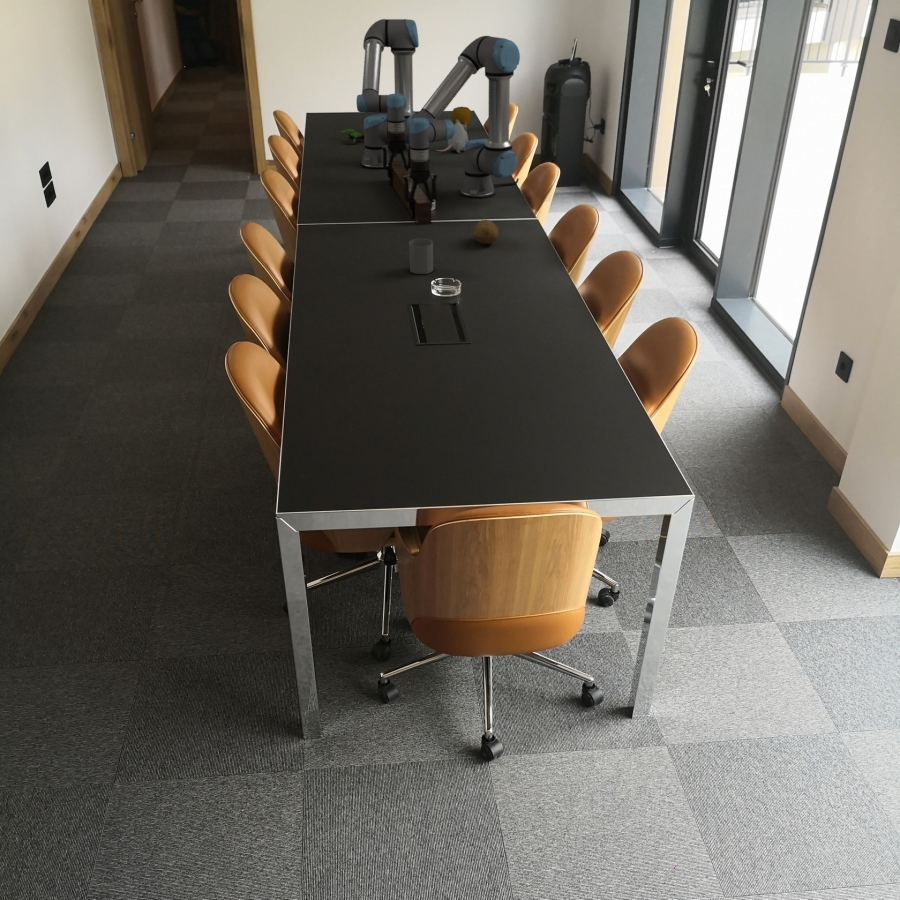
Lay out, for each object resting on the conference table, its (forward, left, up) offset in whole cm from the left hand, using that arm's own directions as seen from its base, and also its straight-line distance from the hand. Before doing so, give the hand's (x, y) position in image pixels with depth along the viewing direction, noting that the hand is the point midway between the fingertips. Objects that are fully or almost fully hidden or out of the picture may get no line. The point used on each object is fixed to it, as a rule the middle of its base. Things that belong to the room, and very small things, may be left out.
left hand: (398, 183), depth 398 cm
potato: (+44, +75, -1) cm, 87 cm away
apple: (-107, -37, -1) cm, 113 cm away
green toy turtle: (-56, -64, -1) cm, 85 cm away
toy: (-62, -13, -1) cm, 63 cm away
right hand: (+34, +37, 0) cm, 50 cm away
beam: (+17, +19, -1) cm, 25 cm away
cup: (+81, +72, -1) cm, 108 cm away
